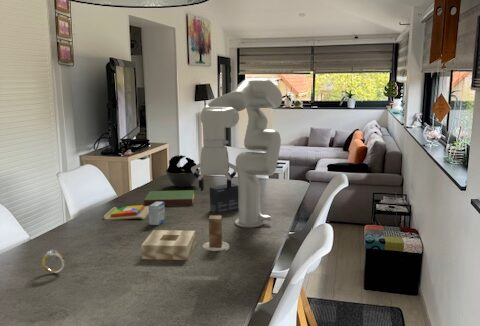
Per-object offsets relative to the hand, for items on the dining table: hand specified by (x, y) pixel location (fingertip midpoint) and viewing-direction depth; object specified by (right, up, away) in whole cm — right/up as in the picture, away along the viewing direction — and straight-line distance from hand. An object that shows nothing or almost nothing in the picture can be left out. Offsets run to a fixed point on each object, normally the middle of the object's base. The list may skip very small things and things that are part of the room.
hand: (215, 190), depth 163 cm
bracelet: (-52, -26, -17) cm, 61 cm away
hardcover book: (-27, -11, +71) cm, 77 cm away
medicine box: (-28, -17, +35) cm, 48 cm away
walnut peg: (0, -21, +3) cm, 21 cm away
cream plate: (0, -22, +3) cm, 22 cm away
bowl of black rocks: (-25, -5, +103) cm, 106 cm away
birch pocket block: (-16, -23, -1) cm, 28 cm away
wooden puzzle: (-44, -15, +48) cm, 67 cm away
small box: (+2, -13, +54) cm, 55 cm away
